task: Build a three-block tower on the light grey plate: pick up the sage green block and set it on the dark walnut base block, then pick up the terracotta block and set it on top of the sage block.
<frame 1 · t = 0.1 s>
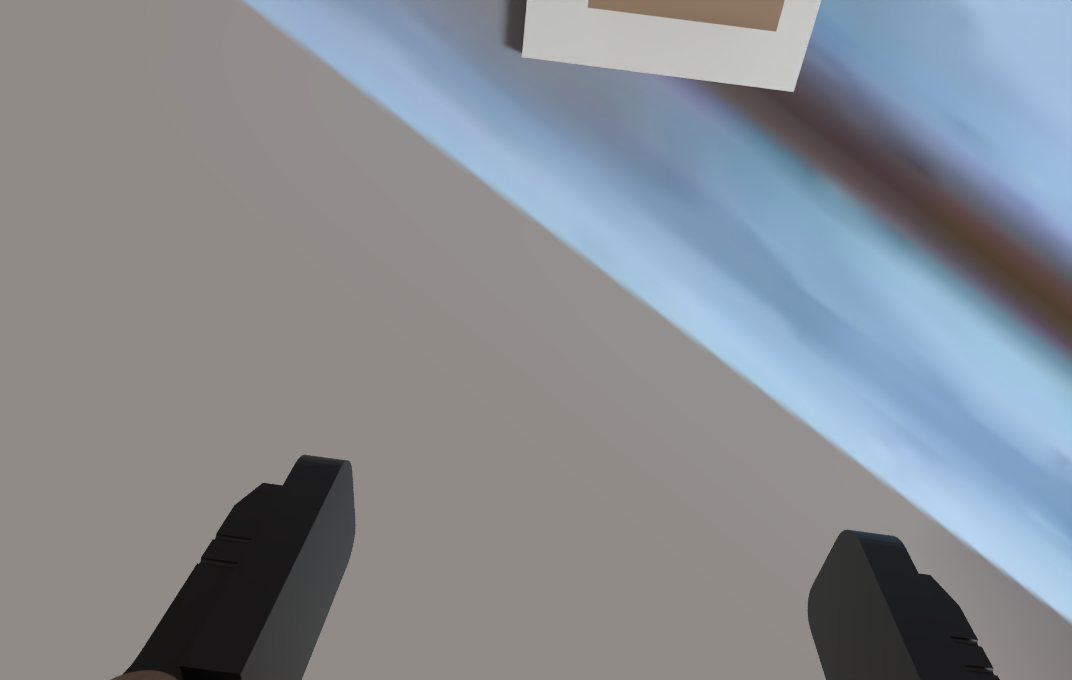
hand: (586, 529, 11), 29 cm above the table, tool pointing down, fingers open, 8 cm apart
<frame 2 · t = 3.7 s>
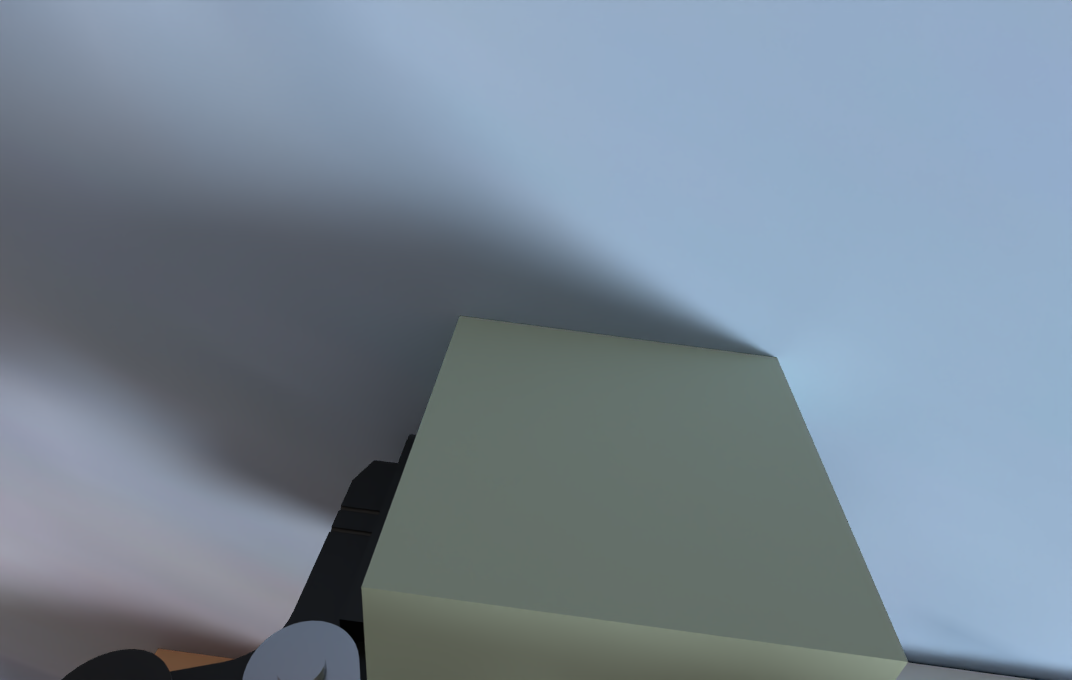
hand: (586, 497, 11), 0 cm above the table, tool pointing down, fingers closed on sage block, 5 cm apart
sage block: (589, 476, 12), on the table, touching gripper
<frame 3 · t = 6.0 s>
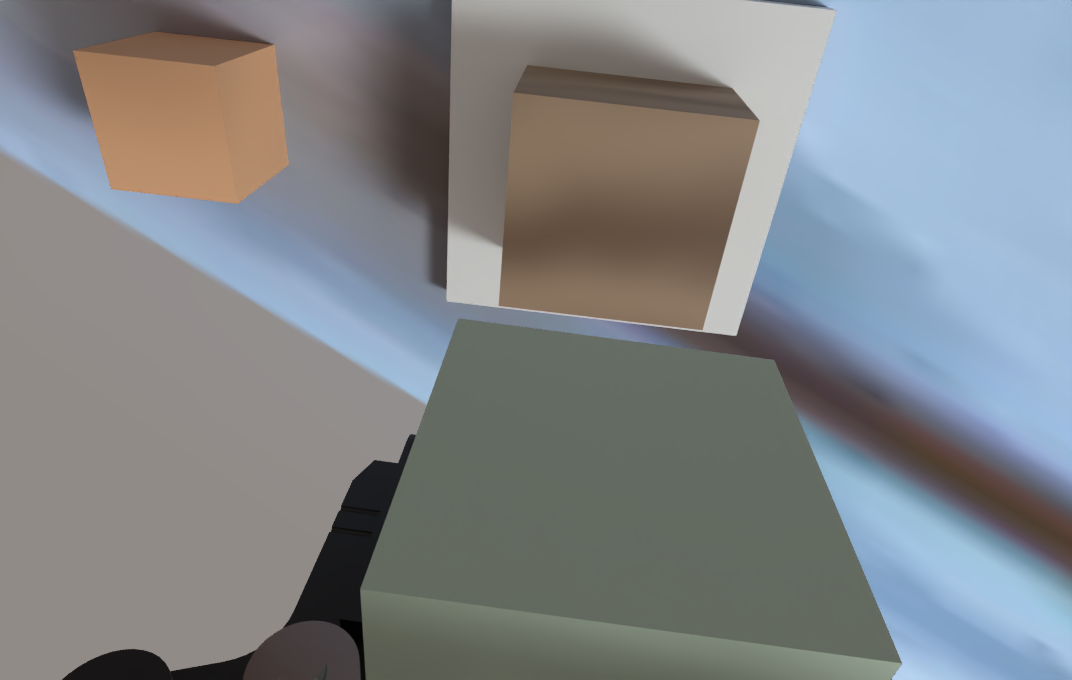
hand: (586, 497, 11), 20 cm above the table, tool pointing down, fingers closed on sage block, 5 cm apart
terracotta block: (225, 100, 28), on the table
grey plate: (612, 169, 28), on the table
walnut base block: (613, 176, 27), point 1 cm above the table, touching grey plate
sage block: (587, 477, 12), point 19 cm above the table, touching gripper
when the fingers open (8 cm above the table, at t = 8.8 s): sage block drops 1 cm, resting on walnut base block.
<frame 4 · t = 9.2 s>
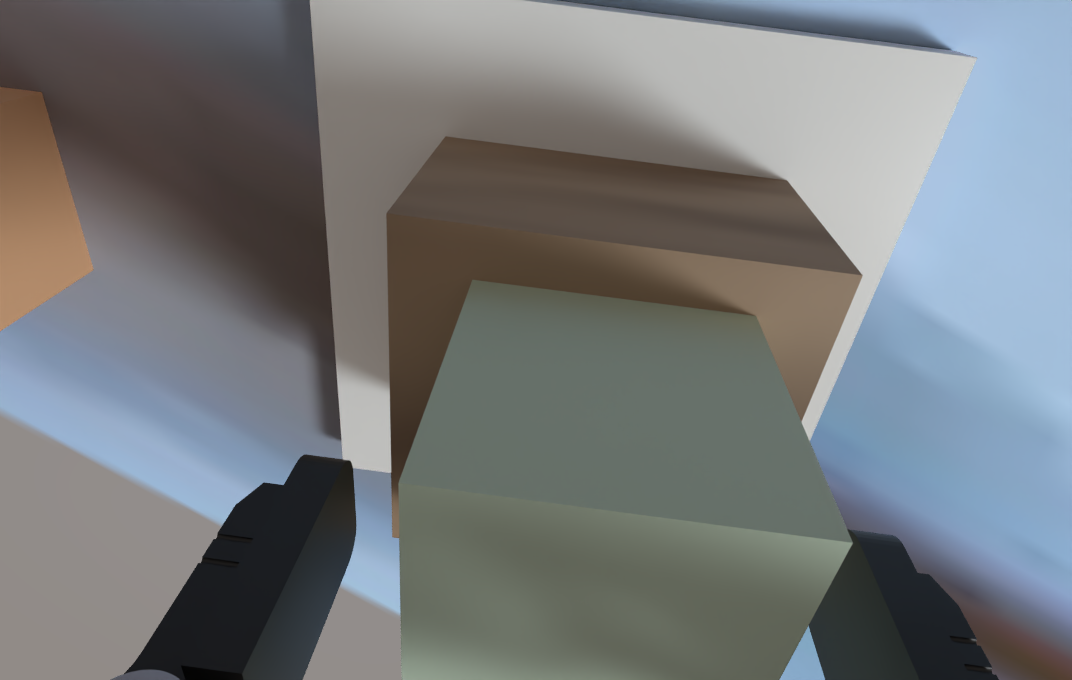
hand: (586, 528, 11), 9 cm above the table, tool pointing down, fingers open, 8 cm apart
grey plate: (590, 290, 18), on the table
walnut base block: (590, 307, 17), point 1 cm above the table, touching grey plate, sage block
sage block: (589, 429, 13), point 6 cm above the table, touching walnut base block
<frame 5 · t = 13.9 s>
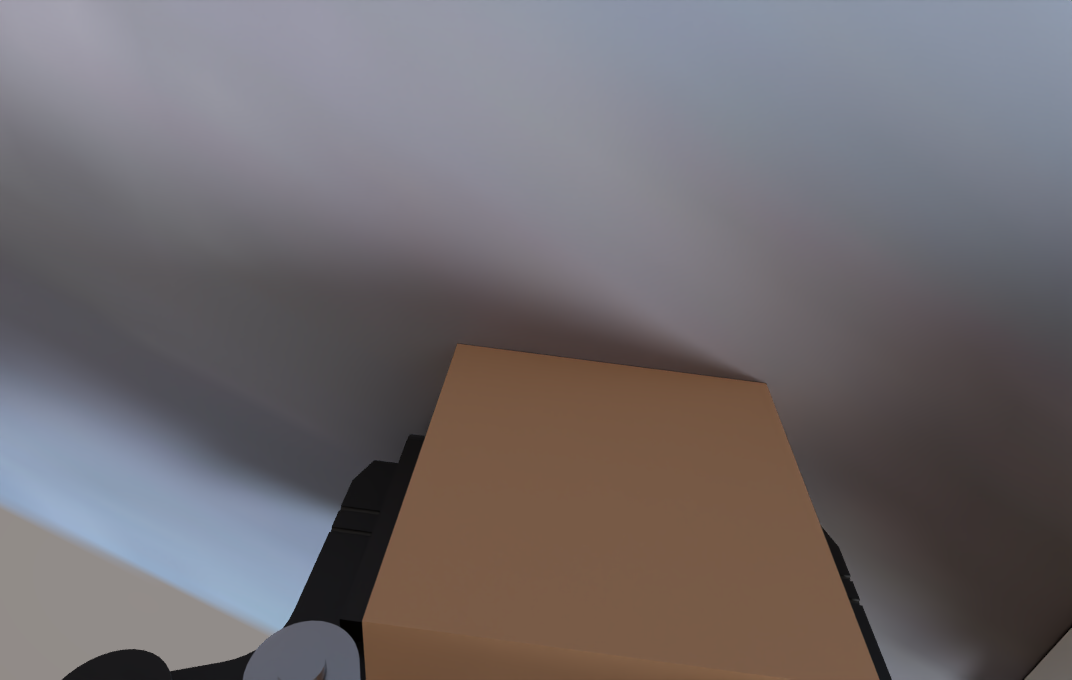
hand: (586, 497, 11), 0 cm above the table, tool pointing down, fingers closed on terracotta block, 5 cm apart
terracotta block: (588, 476, 12), on the table, touching gripper
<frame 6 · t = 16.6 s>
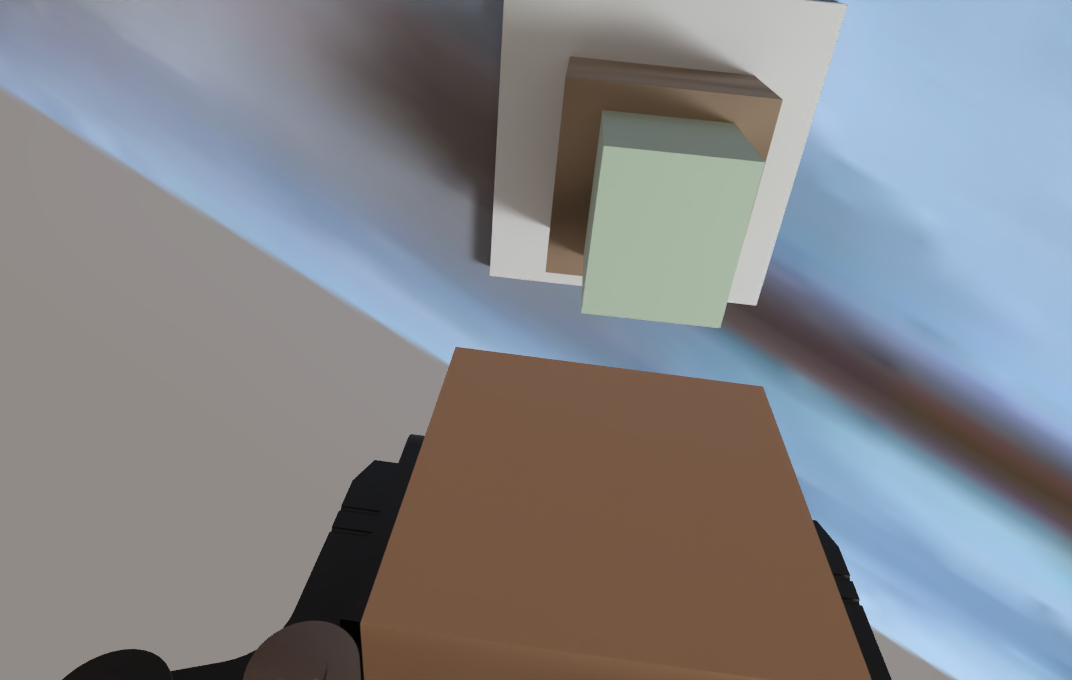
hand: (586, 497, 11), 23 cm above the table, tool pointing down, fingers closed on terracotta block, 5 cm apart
terracotta block: (586, 478, 12), point 23 cm above the table, touching gripper
grey plate: (644, 151, 31), on the table
walnut base block: (645, 157, 30), point 1 cm above the table, touching grey plate, sage block
sage block: (654, 193, 26), point 6 cm above the table, touching walnut base block
when the fingers open (13 cm above the table, at t = 19.3 s): terracotta block drops 1 cm, resting on sage block.
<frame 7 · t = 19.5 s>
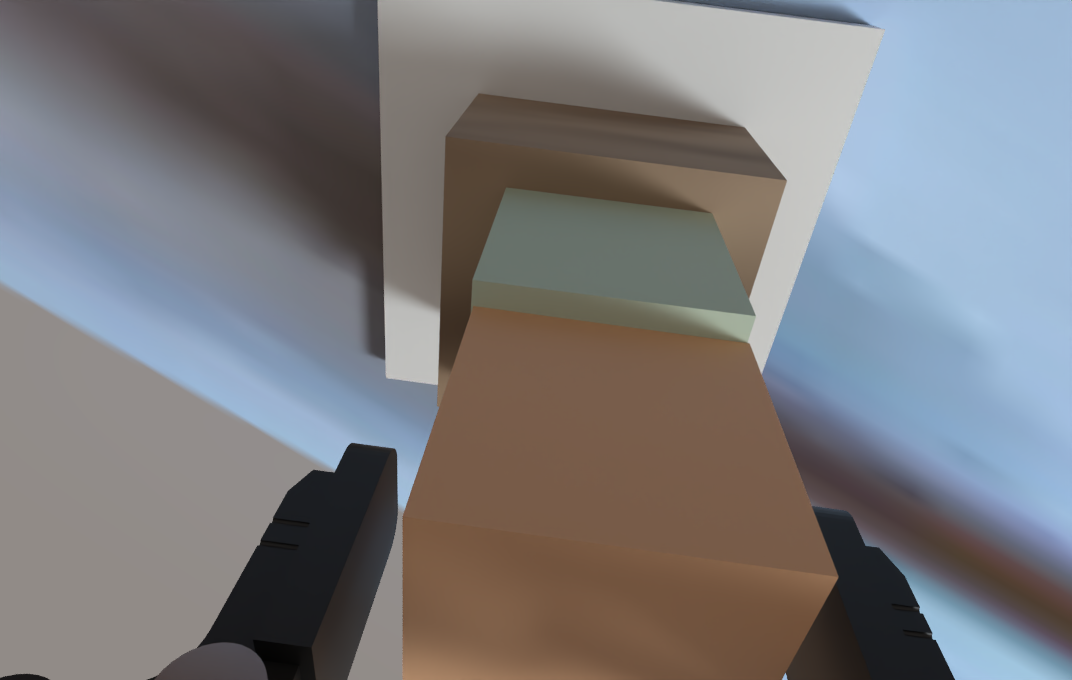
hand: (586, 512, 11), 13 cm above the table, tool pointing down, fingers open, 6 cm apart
terracotta block: (589, 431, 13), point 11 cm above the table, touching sage block
grey plate: (591, 223, 22), on the table
walnut base block: (591, 234, 21), point 1 cm above the table, touching grey plate, sage block
sage block: (590, 308, 17), point 6 cm above the table, touching terracotta block, walnut base block
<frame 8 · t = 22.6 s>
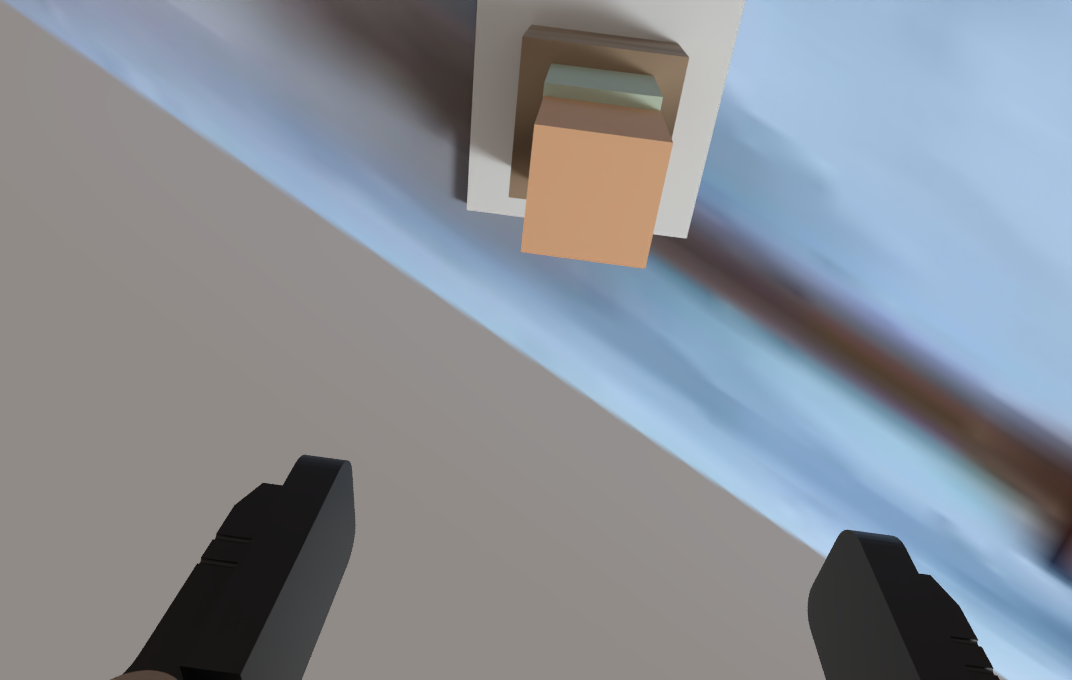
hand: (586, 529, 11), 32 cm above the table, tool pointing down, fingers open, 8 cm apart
terracotta block: (593, 161, 29), point 11 cm above the table, touching sage block
grey plate: (593, 106, 38), on the table
walnut base block: (593, 110, 37), point 1 cm above the table, touching grey plate, sage block
sage block: (593, 132, 33), point 6 cm above the table, touching terracotta block, walnut base block
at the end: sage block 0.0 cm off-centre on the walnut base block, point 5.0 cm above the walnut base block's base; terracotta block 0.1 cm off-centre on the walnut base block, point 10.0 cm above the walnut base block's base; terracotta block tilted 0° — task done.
